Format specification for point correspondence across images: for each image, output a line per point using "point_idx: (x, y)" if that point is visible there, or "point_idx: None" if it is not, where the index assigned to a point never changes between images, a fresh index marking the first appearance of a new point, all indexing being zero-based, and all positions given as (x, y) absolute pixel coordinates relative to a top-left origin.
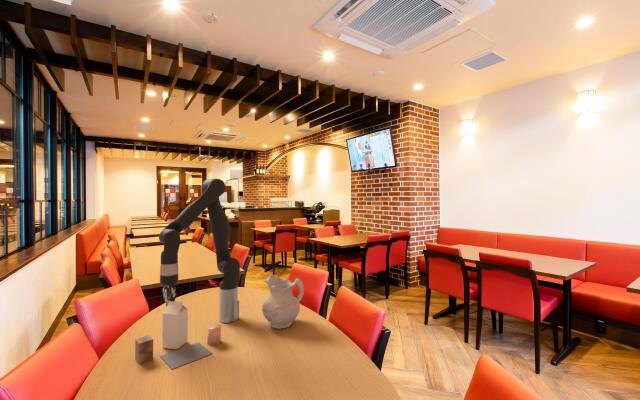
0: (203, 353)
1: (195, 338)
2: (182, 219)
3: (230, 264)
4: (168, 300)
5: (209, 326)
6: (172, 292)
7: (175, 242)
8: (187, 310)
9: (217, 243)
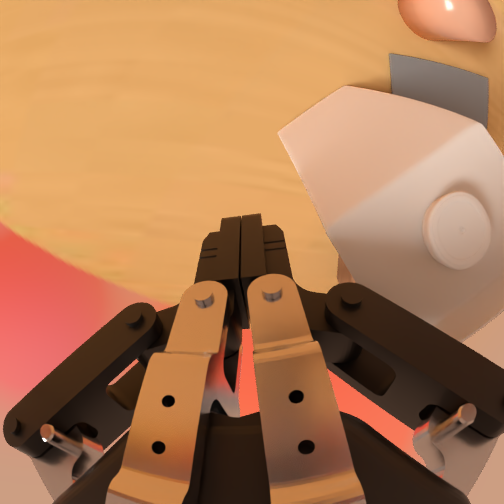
0: (475, 98)
1: (330, 40)
2: None
3: None
4: (349, 372)
5: (456, 13)
6: (473, 460)
7: None
8: (470, 121)
9: None
